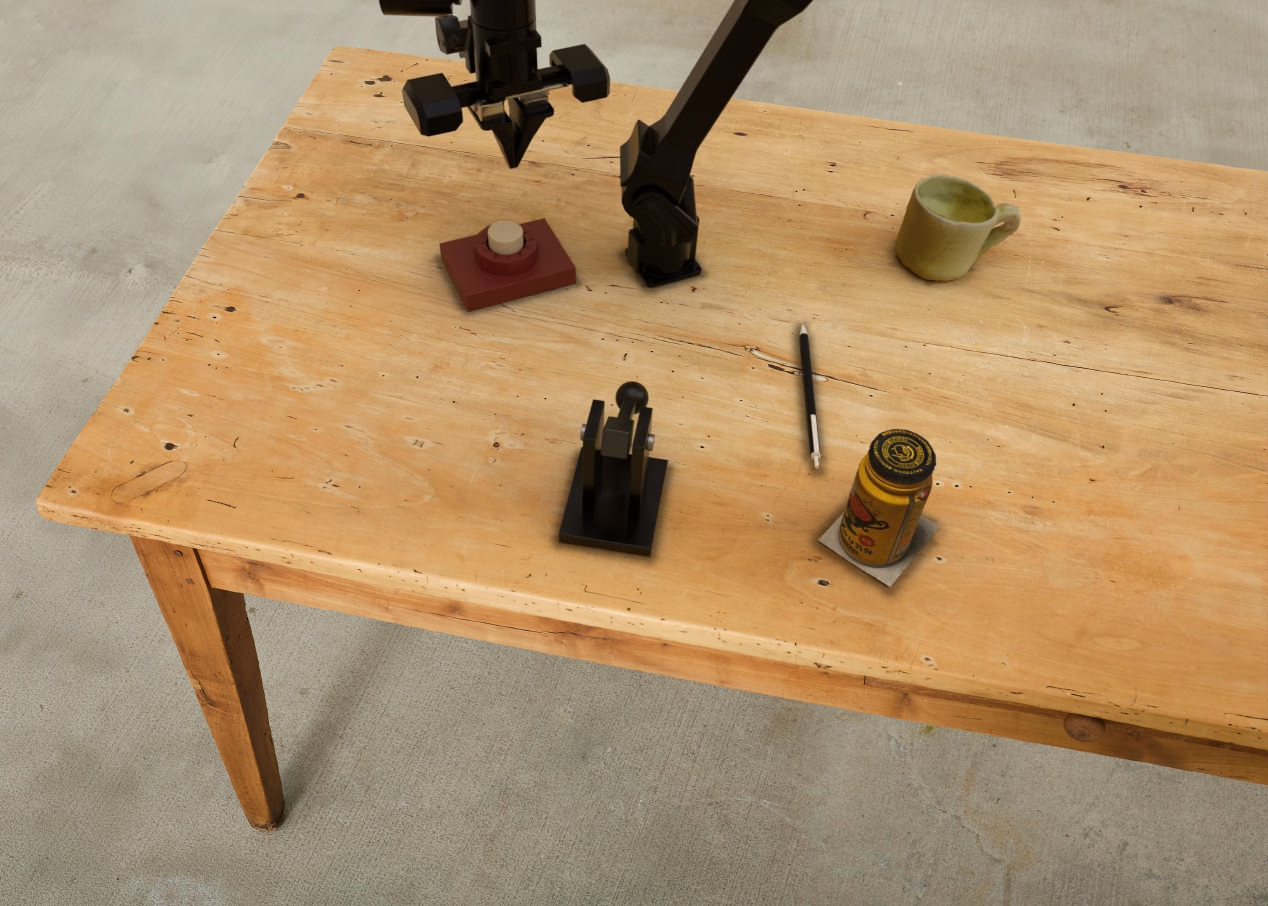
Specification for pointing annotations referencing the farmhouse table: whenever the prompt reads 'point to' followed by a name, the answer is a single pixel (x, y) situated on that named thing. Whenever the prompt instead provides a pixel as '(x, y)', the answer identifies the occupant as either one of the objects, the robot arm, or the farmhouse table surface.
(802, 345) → the pen
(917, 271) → the mug
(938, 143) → the farmhouse table surface
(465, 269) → the button housing
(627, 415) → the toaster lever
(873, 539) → the condiment
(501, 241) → the button
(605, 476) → the lever bracket
